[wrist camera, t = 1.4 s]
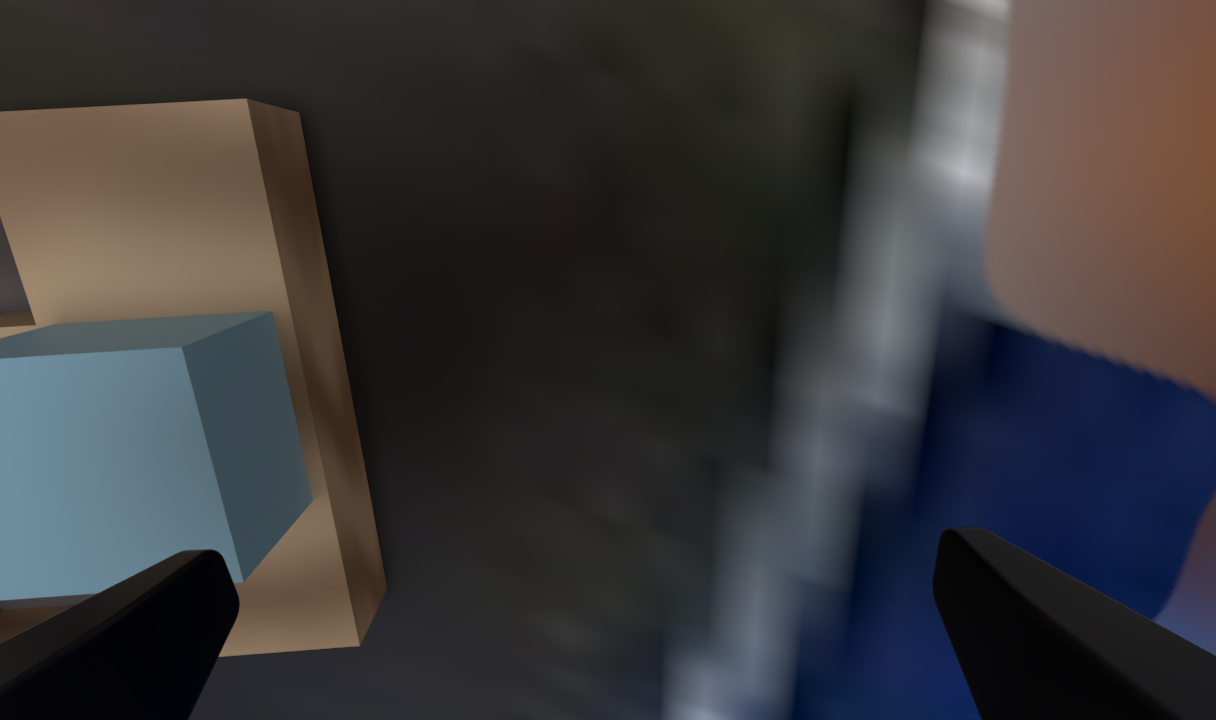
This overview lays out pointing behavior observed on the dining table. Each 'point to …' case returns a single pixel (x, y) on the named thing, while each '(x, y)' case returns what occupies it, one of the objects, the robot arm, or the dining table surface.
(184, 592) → the robot arm
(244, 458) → the teal block
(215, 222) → the trap deck
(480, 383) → the dining table surface
